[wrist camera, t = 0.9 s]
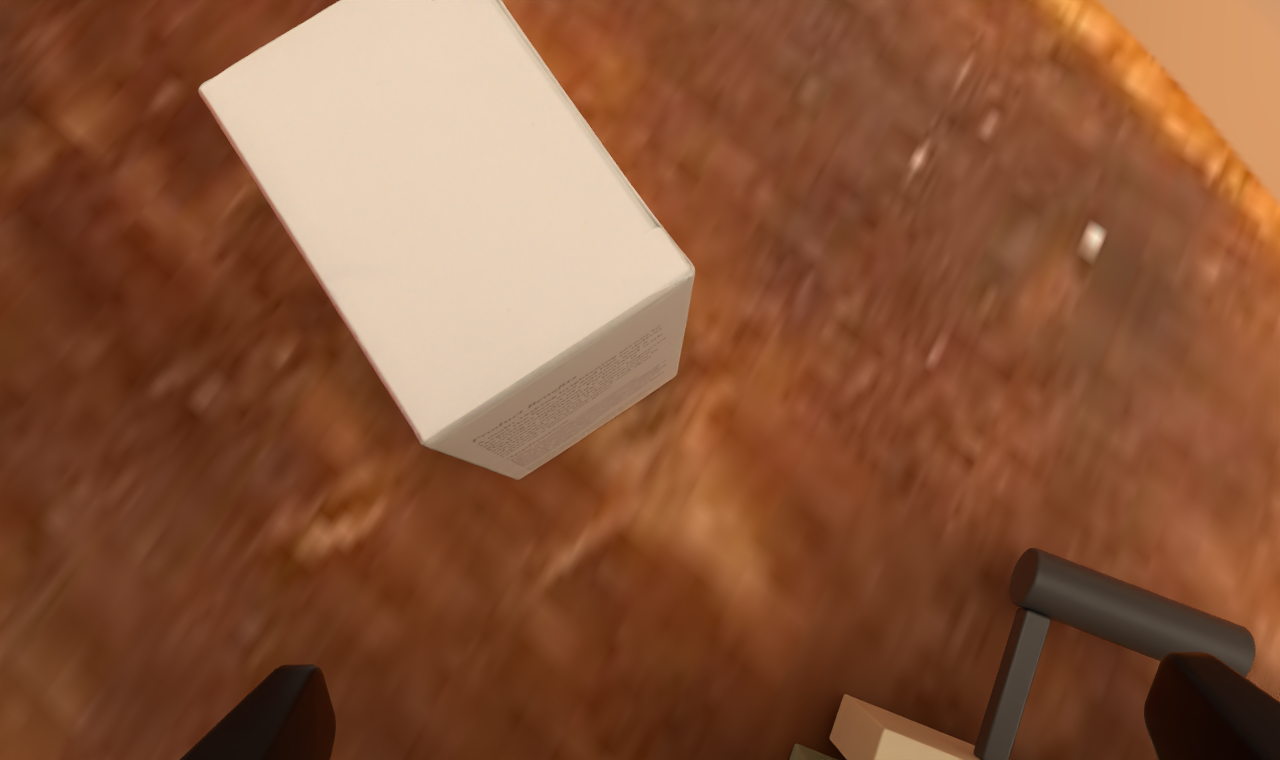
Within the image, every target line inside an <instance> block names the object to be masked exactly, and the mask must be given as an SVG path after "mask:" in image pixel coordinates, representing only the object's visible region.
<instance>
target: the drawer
mask: <svg viewBox="0 0 1280 760" xmlns="http://www.w3.org/2000/svg"><path fill="white" fill-rule="evenodd" d="M1009 594H1010V599H1011V601H1012V603H1014V604H1015V605H1016V606H1019V607H1022V608H1019V609H1018V610H1017V613H1016V616H1015V619H1014V622H1013V626H1012V629H1011V632H1010V635H1009V638H1008V642H1007V645H1006V648H1005V651H1004V655H1003V658H1002V661H1001V664H1000V668H999V671H998V674H997V677H996V680H995V684H994V687H993V690H992V693H991V697H990V700H989V703H988V706H987V710H986V713H985V716H984V719H983V722H982V726H981V729H980V732H979V735H978V739H977V742H976V745H975V746H974V745H972V744H969V743H967V742H964V741H962V740H959V739H957V738H954V737H952V736H949V735H947V734H944V733H942V732H939V731H937V730H934V729H932V728H929V727H927V726H924V725H922V724H919V723H917V722H914V721H912V720H909V719H907V718H904V717H902V716H899V715H897V714H894V713H892V712H889V711H887V710H884V709H882V708H879V707H877V706H874V705H872V704H869V703H867V702H864V701H862V700H859V699H857V698H854V697H852V696H849V695H847V694H844V696H843V699H842V702H841V705H840V708H839V711H838V714H837V717H836V720H835V723H834V726H833V729H832V732H831V734H830V737H829V738H830V740H831V742H832V743H833V744H834V745H835V746H836V748H837V749H838V750H839V751H840V752H841V754H842V755H843V756H844V757H845V758H846V759H847V760H1009V757H1010V754H1011V750H1012V747H1013V744H1014V741H1015V737H1016V734H1017V731H1018V727H1019V724H1020V721H1021V717H1022V714H1023V711H1024V708H1025V704H1026V701H1027V698H1028V694H1029V691H1030V688H1031V684H1032V681H1033V678H1034V675H1035V671H1036V668H1037V665H1038V661H1039V658H1040V655H1041V651H1042V648H1043V645H1044V642H1045V638H1046V635H1047V632H1048V628H1049V625H1050V622H1051V619H1053V620H1055V621H1058V622H1061V623H1063V624H1066V625H1068V626H1071V627H1074V628H1076V629H1079V630H1081V631H1084V632H1087V633H1089V634H1092V635H1094V636H1097V637H1100V638H1102V639H1105V640H1107V641H1110V642H1113V643H1115V644H1118V645H1120V646H1123V647H1126V648H1128V649H1131V650H1133V651H1136V652H1139V653H1141V654H1144V655H1146V656H1149V657H1151V658H1154V659H1157V660H1159V661H1161V660H1162V658H1163V657H1164V656H1166V655H1167V654H1168V653H1172V652H1205V653H1208V654H1211V655H1213V656H1215V657H1216V658H1218V659H1219V660H1221V661H1222V662H1224V663H1225V664H1226V665H1228V666H1229V667H1231V668H1232V669H1233V670H1235V671H1236V672H1238V673H1239V674H1241V675H1242V676H1243V677H1246V676H1247V674H1248V673H1249V671H1250V669H1251V667H1252V665H1253V661H1254V657H1255V642H1254V638H1253V636H1252V634H1251V633H1250V632H1249V631H1248V630H1247V629H1246V628H1244V627H1242V626H1240V625H1237V624H1234V623H1232V622H1229V621H1227V620H1224V619H1221V618H1219V617H1216V616H1213V615H1211V614H1208V613H1205V612H1203V611H1200V610H1198V609H1195V608H1192V607H1190V606H1187V605H1184V604H1182V603H1179V602H1176V601H1174V600H1171V599H1169V598H1166V597H1163V596H1161V595H1158V594H1155V593H1153V592H1150V591H1147V590H1145V589H1142V588H1140V587H1137V586H1134V585H1132V584H1129V583H1126V582H1124V581H1121V580H1118V579H1116V578H1113V577H1111V576H1108V575H1105V574H1103V573H1100V572H1097V571H1095V570H1092V569H1089V568H1087V567H1084V566H1081V565H1079V564H1076V563H1074V562H1071V561H1068V560H1066V559H1063V558H1060V557H1058V556H1055V555H1052V554H1050V553H1047V552H1045V551H1042V550H1039V549H1037V548H1030V549H1028V550H1027V551H1025V552H1024V553H1023V555H1022V556H1021V557H1020V559H1019V560H1018V562H1017V564H1016V566H1015V568H1014V571H1013V574H1012V577H1011V582H1010V590H1009ZM1023 608H1024V609H1023Z"/></svg>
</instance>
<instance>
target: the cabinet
mask: <svg viewBox="0 0 1280 760" xmlns="http://www.w3.org/2000/svg"><path fill="white" fill-rule="evenodd" d="M789 760H837V759H834V758H832V757H830V756H827V755H825V754H822V753H820V752H817V751H815V750H812V749H810V748H807V747H805V746H802V745H800V744H795V745H794V747H793V750H792V753H791V756H790V759H789Z"/></svg>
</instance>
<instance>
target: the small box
mask: <svg viewBox="0 0 1280 760" xmlns="http://www.w3.org/2000/svg"><path fill="white" fill-rule="evenodd" d="M199 95H200V96H201V98H202V99H203V101H204V102H205V104H206V105H207V107H208V109H209V110H210V112H211V113H212V115H213V117H214V118H215V120H216V121H217V123H218V125H219V126H220V128H221V129H222V131H223V132H224V134H225V135H226V137H227V138H228V140H229V142H230V143H231V145H232V146H233V148H234V149H235V151H236V153H237V154H238V156H239V157H240V159H241V161H242V162H243V164H244V165H245V167H246V168H247V170H248V172H249V173H250V175H251V176H252V178H253V180H254V181H255V183H256V184H257V186H258V187H259V189H260V191H261V192H262V194H263V195H264V197H265V199H266V200H267V202H268V203H269V205H270V206H271V208H272V210H273V211H274V213H275V214H276V216H277V217H278V219H279V221H280V222H281V224H282V225H283V227H284V229H285V230H286V232H287V233H288V235H289V236H290V238H291V240H292V241H293V243H294V244H295V246H296V247H297V249H298V250H299V252H300V253H301V255H302V257H303V258H304V260H305V261H306V263H307V265H308V266H309V268H310V269H311V271H312V273H313V274H314V276H315V277H316V279H317V280H318V282H319V284H320V285H321V287H322V288H323V290H324V291H325V293H326V295H327V296H328V298H329V299H330V301H331V302H332V304H333V306H334V307H335V309H336V310H337V312H338V313H339V315H340V317H341V318H342V320H343V321H344V323H345V324H346V326H347V328H348V329H349V331H350V332H351V334H352V335H353V337H354V339H355V340H356V342H357V343H358V345H359V346H360V348H361V350H362V351H363V353H364V354H365V356H366V357H367V359H368V361H369V362H370V364H371V365H372V367H373V369H374V370H375V372H376V374H377V375H378V377H379V378H380V380H381V382H382V383H383V385H384V386H385V388H386V389H387V391H388V392H389V394H390V395H391V397H392V399H393V400H394V402H395V403H396V405H397V406H398V408H399V409H400V411H401V412H402V414H403V416H404V417H405V419H406V420H407V422H408V423H409V425H410V426H411V428H412V429H413V431H414V433H415V435H416V437H417V438H418V440H419V442H420V443H421V444H422V445H423V446H425V447H427V448H430V449H433V450H436V451H438V452H441V453H444V454H447V455H450V456H453V457H455V458H458V459H461V460H463V461H466V462H469V463H472V464H475V465H478V466H481V467H484V468H486V469H489V470H491V471H494V472H497V473H500V474H502V475H505V476H508V477H511V478H514V479H517V480H519V479H521V478H522V477H524V476H526V475H527V474H529V473H531V472H532V471H534V470H535V469H537V468H538V467H540V466H542V465H543V464H545V463H546V462H548V461H549V460H551V459H553V458H554V457H556V456H557V455H559V454H560V453H562V452H563V451H565V450H566V449H568V448H569V447H571V446H572V445H574V444H575V443H577V442H578V441H580V440H581V439H583V438H584V437H586V436H587V435H589V434H590V433H592V432H593V431H595V430H596V429H598V428H599V427H601V426H602V425H604V424H605V423H607V422H609V421H610V420H612V419H613V418H615V417H616V416H618V415H619V414H621V413H622V412H624V411H625V410H627V409H628V408H630V407H631V406H633V405H634V404H636V403H637V402H639V401H640V400H642V399H643V398H645V397H646V396H648V395H649V394H651V393H652V392H653V391H655V390H656V389H658V388H659V387H661V386H662V385H664V384H665V383H666V382H668V381H670V380H671V379H673V378H674V377H675V376H676V375H677V371H678V365H679V360H680V354H681V349H682V343H683V339H684V334H685V328H686V323H687V317H688V310H689V305H690V300H691V293H692V287H693V282H694V276H695V268H694V266H693V264H692V263H691V261H690V260H689V259H688V258H687V256H686V255H685V254H684V253H683V252H682V250H681V249H680V248H679V247H678V246H677V244H676V243H675V241H674V240H673V239H672V237H671V236H670V235H669V234H668V233H667V231H666V230H665V229H664V228H663V226H662V225H661V224H660V223H659V221H658V220H657V219H656V217H655V216H654V215H653V213H652V212H651V211H650V209H649V208H648V207H647V205H646V204H645V203H644V201H643V200H642V199H641V197H640V196H639V195H638V193H637V192H636V191H635V189H634V188H633V187H632V185H631V184H630V183H629V181H628V180H627V178H626V177H625V176H624V174H623V173H622V171H621V170H620V169H619V167H618V166H617V164H616V163H615V162H614V160H613V159H612V157H611V156H610V154H609V153H608V152H607V150H606V149H605V147H604V146H603V144H602V143H601V142H600V140H599V139H598V137H597V136H596V134H595V133H594V132H593V130H592V129H591V127H590V126H589V125H588V123H587V122H586V121H585V119H584V118H583V116H582V115H581V114H580V112H579V111H578V109H577V108H576V107H575V105H574V104H573V102H572V101H571V100H570V98H569V97H568V95H567V94H566V93H565V91H564V90H563V88H562V87H561V86H560V84H559V83H558V81H557V80H556V78H555V77H554V76H553V74H552V73H551V71H550V70H549V68H548V67H547V65H546V64H545V63H544V61H543V60H542V58H541V57H540V55H539V54H538V53H537V51H536V50H535V48H534V47H533V45H532V44H531V42H530V41H529V40H528V38H527V37H526V35H525V34H524V33H523V31H522V30H521V28H520V27H519V25H518V24H517V23H516V21H515V20H514V18H513V17H512V15H511V14H510V12H509V11H508V9H507V8H506V6H505V5H504V3H503V2H502V0H340V1H338V2H337V3H335V4H333V5H332V6H330V7H328V8H326V9H325V10H323V11H322V12H320V13H318V14H317V15H315V16H313V17H312V18H310V19H308V20H307V21H305V22H303V23H302V24H300V25H298V26H297V27H295V28H293V29H292V30H290V31H288V32H287V33H285V34H283V35H282V36H280V37H278V38H276V39H275V40H273V41H271V42H270V43H268V44H266V45H265V46H263V47H261V48H260V49H258V50H256V51H255V52H253V53H252V54H250V55H248V56H247V57H245V58H244V59H242V60H240V61H238V62H237V63H235V64H233V65H232V66H231V67H229V68H228V69H226V70H225V71H223V72H222V73H220V74H219V75H217V76H216V77H214V78H212V79H210V80H208V81H206V82H204V83H203V84H202V85H201V86H200V88H199Z"/></svg>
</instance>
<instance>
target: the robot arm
mask: <svg viewBox="0 0 1280 760" xmlns="http://www.w3.org/2000/svg"><path fill="white" fill-rule="evenodd" d="M1144 718H1145V723H1146V727H1147V730H1148V733H1149V736H1150V739H1151V742H1152V744H1153V747H1154V750H1155V753H1156V755H1157V758H1158V760H1280V702H1279V701H1277V700H1276V699H1275V698H1273V697H1272V696H1270V695H1269V694H1268V693H1266V692H1265V691H1263V690H1262V689H1260V688H1259V687H1258V686H1256V685H1255V684H1253V683H1252V682H1251V681H1249V680H1248V679H1246V678H1245V677H1243V676H1242V675H1241V674H1239V673H1238V672H1236V671H1235V670H1233V669H1232V668H1231V667H1229V666H1228V665H1226V664H1225V663H1224V662H1222V661H1221V660H1219V659H1218V658H1216V657H1215V656H1213V655H1211V654H1208V653H1205V652H1172V653H1168V654H1167V655H1166V656H1164V657H1163V658H1162V660H1161V662H1160V665H1159V667H1158V670H1157V673H1156V675H1155V678H1154V681H1153V683H1152V686H1151V688H1150V691H1149V694H1148V696H1147V699H1146V702H1145V707H1144ZM335 730H336V720H335V713H334V710H333V706H332V703H331V699H330V696H329V693H328V689H327V686H326V682H325V679H324V676H323V673H322V671H321V669H320V668H319V667H318V666H316V665H313V664H310V665H283V666H280V667H279V668H277V669H275V670H274V671H273V672H272V673H271V674H270V675H268V676H267V677H266V678H265V679H264V680H263V681H262V682H261V683H260V684H259V685H258V686H257V687H256V688H255V689H254V690H253V691H252V692H251V693H250V694H248V695H247V696H246V697H245V698H244V699H243V700H242V701H241V702H240V703H239V704H238V705H237V706H236V707H235V708H234V709H233V710H232V711H231V712H230V713H228V714H227V715H226V716H225V717H224V718H223V719H222V720H221V721H220V722H219V723H218V724H217V725H216V726H215V727H214V728H213V729H212V730H211V731H210V732H208V733H207V734H206V735H205V736H204V737H203V738H202V739H201V740H200V741H199V742H198V743H197V744H196V745H195V746H194V747H193V748H192V749H191V750H190V751H188V752H187V753H186V754H185V755H184V756H183V757H182V758H181V759H180V760H330V757H331V753H332V748H333V743H334V738H335Z"/></svg>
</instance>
